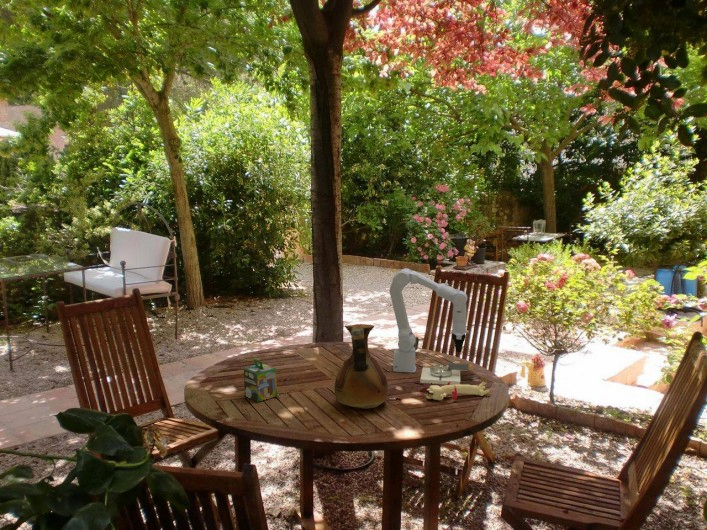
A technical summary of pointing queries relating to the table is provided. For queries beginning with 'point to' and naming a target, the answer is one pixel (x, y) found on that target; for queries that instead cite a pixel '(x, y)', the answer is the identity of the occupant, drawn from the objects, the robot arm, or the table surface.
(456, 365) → the grey metal handled bowl
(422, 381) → the cap plate
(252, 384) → the chalk box
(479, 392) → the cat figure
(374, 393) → the brown vase
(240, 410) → the table surface
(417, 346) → the cup
